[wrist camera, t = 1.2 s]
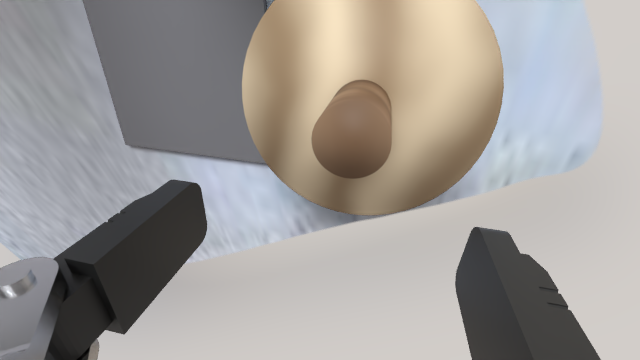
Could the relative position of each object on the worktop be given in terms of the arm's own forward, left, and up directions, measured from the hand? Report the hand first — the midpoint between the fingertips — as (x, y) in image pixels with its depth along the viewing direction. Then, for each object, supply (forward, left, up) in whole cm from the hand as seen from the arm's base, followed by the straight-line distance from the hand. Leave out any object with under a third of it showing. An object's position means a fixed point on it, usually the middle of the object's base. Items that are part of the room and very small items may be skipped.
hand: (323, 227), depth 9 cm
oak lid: (0, 0, -14) cm, 14 cm away
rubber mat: (-19, 0, -21) cm, 28 cm away
